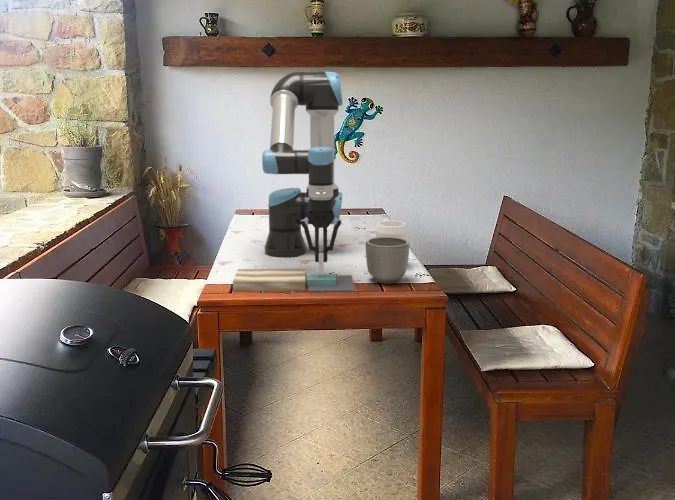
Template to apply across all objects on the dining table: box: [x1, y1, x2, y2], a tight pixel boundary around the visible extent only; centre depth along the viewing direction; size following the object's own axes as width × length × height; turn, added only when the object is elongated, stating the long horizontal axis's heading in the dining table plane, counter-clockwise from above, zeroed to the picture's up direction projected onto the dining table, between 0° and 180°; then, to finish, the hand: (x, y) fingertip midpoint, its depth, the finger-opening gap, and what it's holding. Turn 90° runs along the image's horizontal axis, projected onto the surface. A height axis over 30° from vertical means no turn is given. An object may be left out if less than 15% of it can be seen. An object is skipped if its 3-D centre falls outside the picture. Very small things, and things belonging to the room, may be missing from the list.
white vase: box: [375, 220, 408, 240], centre depth 244 cm, size 11×11×15 cm
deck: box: [232, 268, 307, 292], centre depth 225 cm, size 14×22×3 cm, turn 92°
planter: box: [365, 236, 410, 285], centre depth 228 cm, size 14×14×13 cm
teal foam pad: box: [306, 273, 336, 287], centre depth 225 cm, size 9×6×2 cm, turn 91°
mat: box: [307, 274, 355, 293], centre depth 226 cm, size 16×14×1 cm
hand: (321, 271), depth 225 cm, fingers closed
